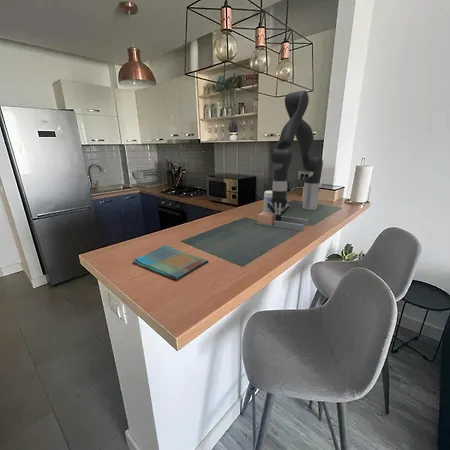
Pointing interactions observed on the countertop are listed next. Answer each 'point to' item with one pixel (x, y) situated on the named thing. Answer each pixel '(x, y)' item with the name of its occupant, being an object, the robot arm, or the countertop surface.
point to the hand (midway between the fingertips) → (278, 221)
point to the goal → (263, 224)
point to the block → (266, 218)
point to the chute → (291, 223)
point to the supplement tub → (267, 201)
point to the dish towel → (170, 262)
